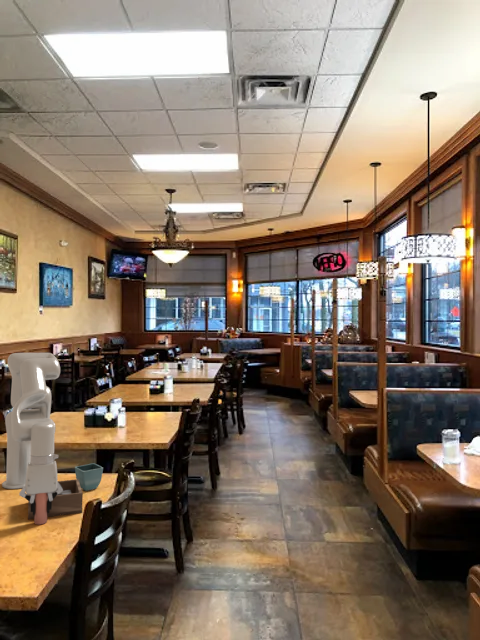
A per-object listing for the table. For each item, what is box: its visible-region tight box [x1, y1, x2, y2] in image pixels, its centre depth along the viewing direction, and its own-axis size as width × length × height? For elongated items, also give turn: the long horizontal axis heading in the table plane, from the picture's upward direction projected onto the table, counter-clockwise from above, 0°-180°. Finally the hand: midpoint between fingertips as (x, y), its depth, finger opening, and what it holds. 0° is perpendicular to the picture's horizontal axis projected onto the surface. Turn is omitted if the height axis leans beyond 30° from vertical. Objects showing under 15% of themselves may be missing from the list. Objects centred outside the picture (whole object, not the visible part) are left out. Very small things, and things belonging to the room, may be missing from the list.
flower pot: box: [74, 463, 104, 492], centre depth 204 cm, size 9×9×9 cm
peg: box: [33, 493, 48, 525], centre depth 167 cm, size 4×4×12 cm
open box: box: [27, 478, 84, 520], centre depth 182 cm, size 18×18×7 cm
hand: (40, 512), depth 167 cm, fingers closed on peg, 4 cm apart
